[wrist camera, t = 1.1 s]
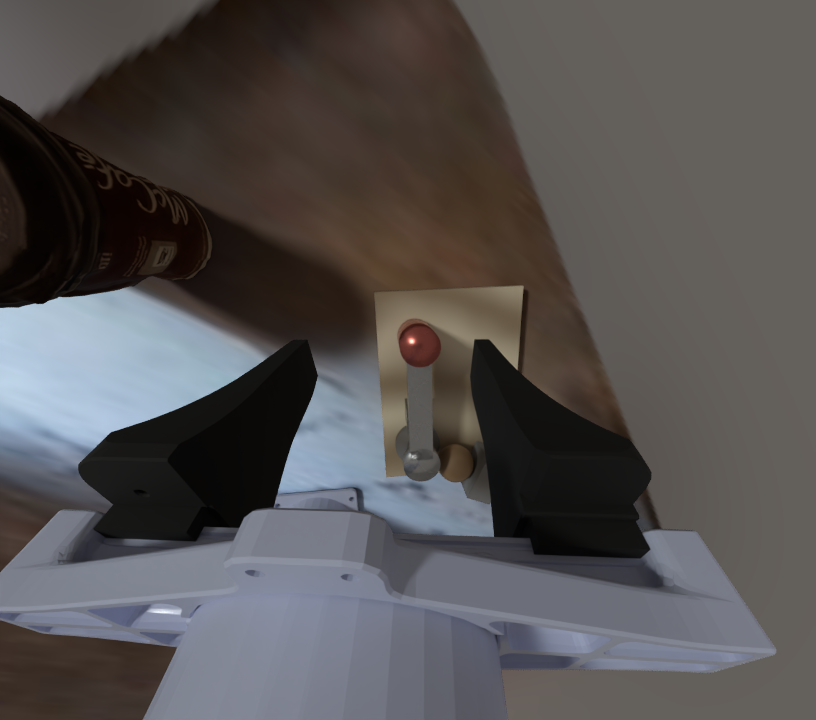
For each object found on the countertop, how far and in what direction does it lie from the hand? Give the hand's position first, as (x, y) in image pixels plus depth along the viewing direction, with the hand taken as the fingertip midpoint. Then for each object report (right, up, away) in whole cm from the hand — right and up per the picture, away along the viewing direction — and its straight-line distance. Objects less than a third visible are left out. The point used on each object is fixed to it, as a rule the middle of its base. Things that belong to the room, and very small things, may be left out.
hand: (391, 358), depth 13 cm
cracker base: (+4, -3, +14) cm, 15 cm away
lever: (+1, -3, +13) cm, 13 cm away
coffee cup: (-17, +9, +9) cm, 21 cm away
